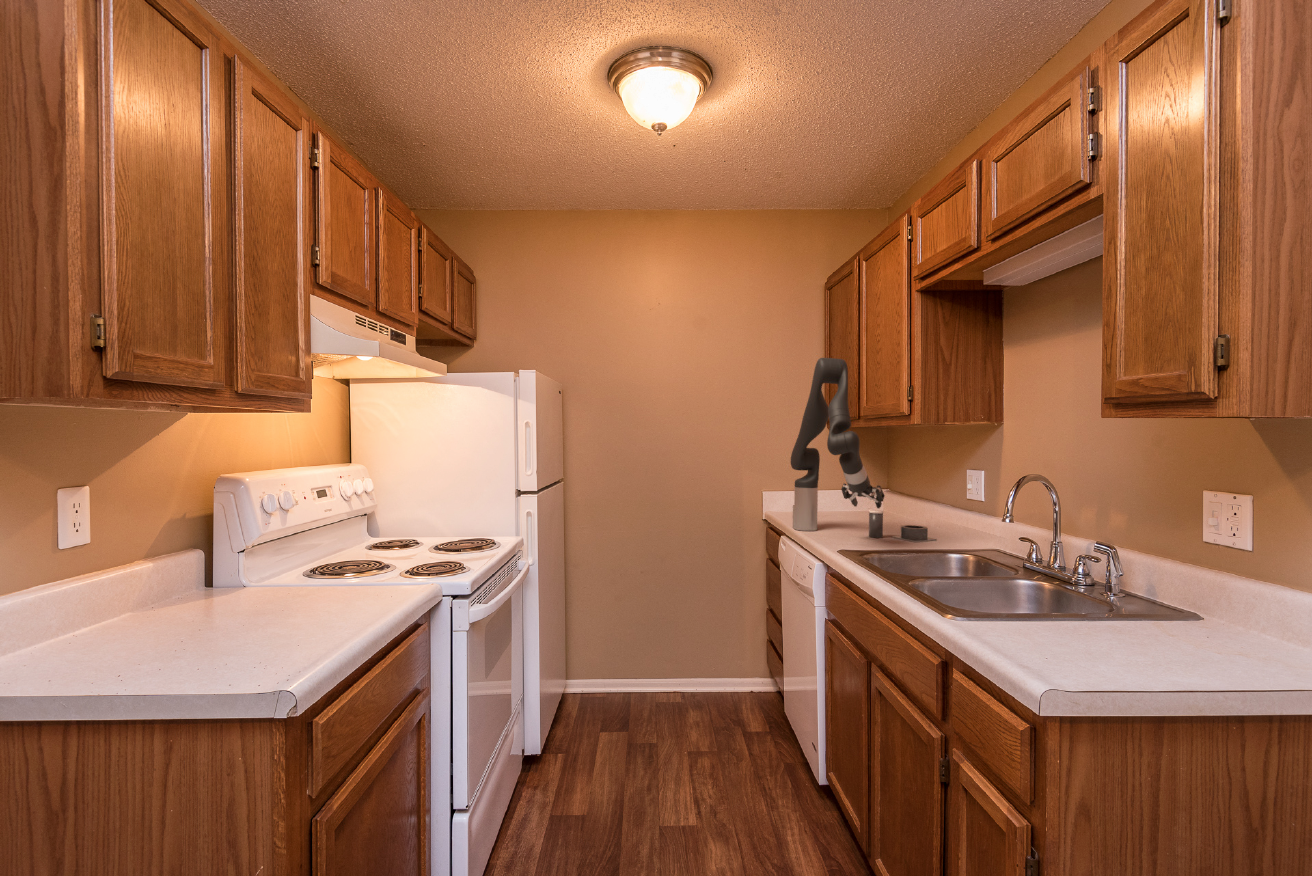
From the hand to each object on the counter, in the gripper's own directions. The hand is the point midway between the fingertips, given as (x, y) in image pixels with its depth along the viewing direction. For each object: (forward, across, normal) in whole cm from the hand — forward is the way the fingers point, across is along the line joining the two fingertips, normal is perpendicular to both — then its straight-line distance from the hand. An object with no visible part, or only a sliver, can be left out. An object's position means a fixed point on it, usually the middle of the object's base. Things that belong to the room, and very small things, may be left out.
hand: (867, 505), depth 229 cm
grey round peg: (+15, 0, +3) cm, 16 cm away
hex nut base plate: (+19, -12, -1) cm, 23 cm away
